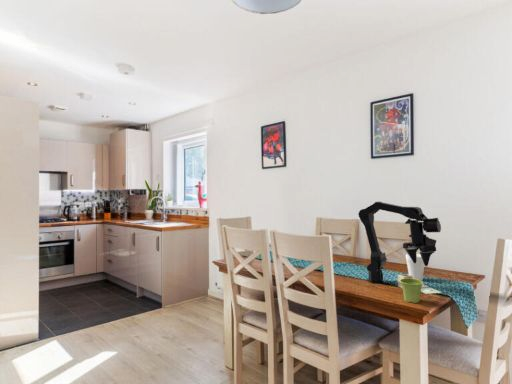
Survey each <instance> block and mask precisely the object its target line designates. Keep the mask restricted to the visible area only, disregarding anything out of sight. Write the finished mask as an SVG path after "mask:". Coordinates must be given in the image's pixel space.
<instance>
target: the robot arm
mask: <svg viewBox="0 0 512 384" xmlns="http://www.w3.org/2000/svg"><path fill="white" fill-rule="evenodd" d="M380 210H381V211H385V212H389V213H395V214H399V215H402V216H403V217H405V218H408V219H407V220H406V221H405V222H404V224H406V225H408V224H409V229H410V234H409V235H408V237H409V238H410V239H411V241H408V242H403V244H402V249H404V250H405V251H406V254H409V256H410V258H411V259H412V261H413V262H414V263H416V254H417V252H418V250H419V254H420V255H421V257H422V260H423V262H424V267H428V266H429V262H430V258H431V256H432V254H434V253H435V252H437V247H436V243H437V240H436V239H435V238H434V239H433V238H430V237H429V236H427V234H425V233H424V231H425V232H426V233H441V231H442V226H441V222H440V221H439V218H438V217H433V218H428V217H427V216H426V215H425V213H423V209H422V208H421V207H419V206H401V205H396V204H392V203H387V202H382V201H375V202H374V203H372V204H371V205H369V206H367V207H365V208H362V209H360V210H359V211H358V213H357V215H358V218H359V219H360V222H361V223H362V225H364V229H365V234H366V236H367V241H368V245H369V248H370V256H369V257H370V263H369V264H368V265H367V266H366V270H367V274H368V278H367V280H366V281H368V282H369V283H372V284H377V283H379V284H381V283H385V281H384V272H383V269H384V267H385V266H386V264H387V261H388V259H387V256H386V253H385V252H382V250H381V248H380V244H379V241H378V238H377V237H378V236H377V233H376V229H375V226H374V224H375V223H374V222H375V214H376V213H378V212H379V211H380Z"/></svg>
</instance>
